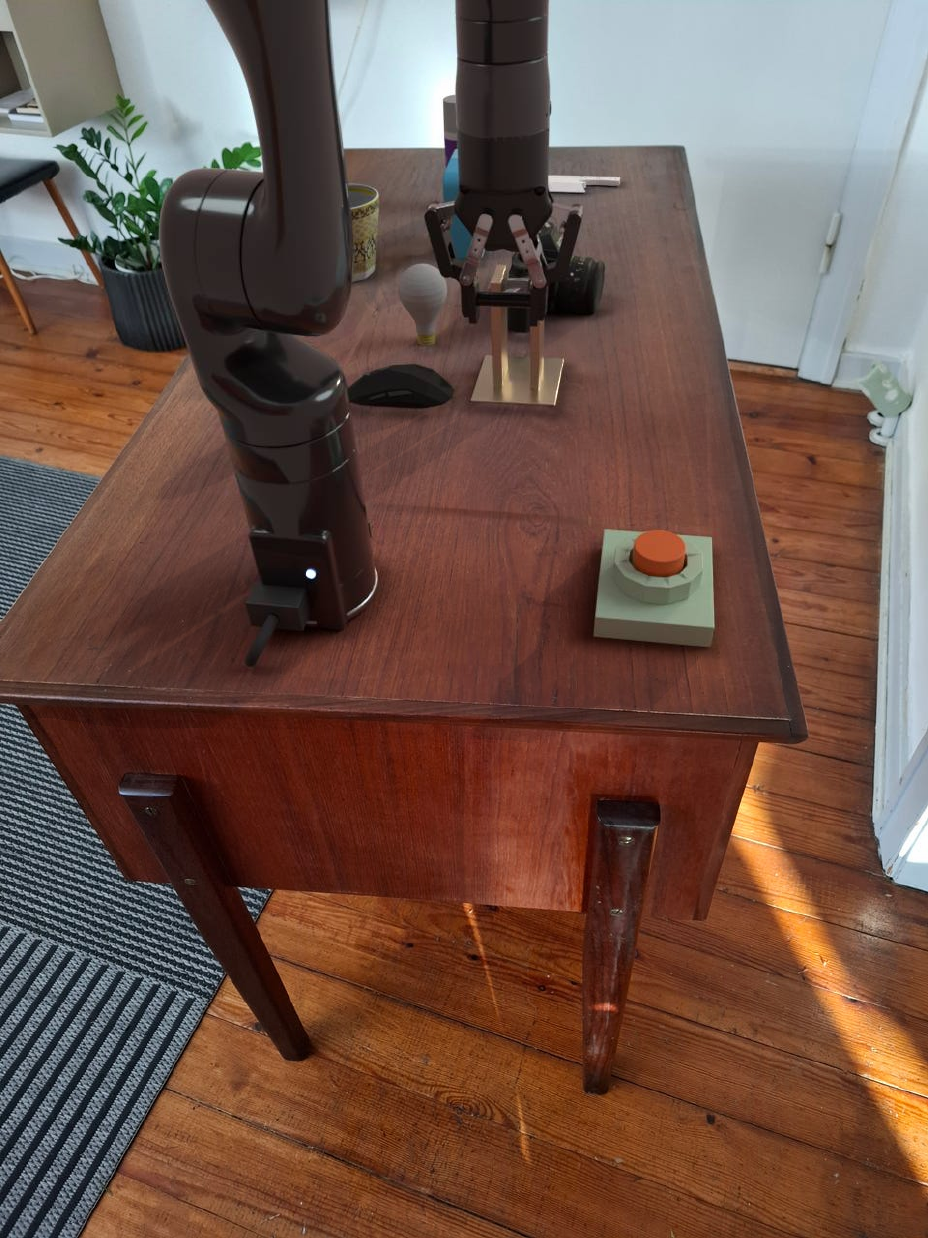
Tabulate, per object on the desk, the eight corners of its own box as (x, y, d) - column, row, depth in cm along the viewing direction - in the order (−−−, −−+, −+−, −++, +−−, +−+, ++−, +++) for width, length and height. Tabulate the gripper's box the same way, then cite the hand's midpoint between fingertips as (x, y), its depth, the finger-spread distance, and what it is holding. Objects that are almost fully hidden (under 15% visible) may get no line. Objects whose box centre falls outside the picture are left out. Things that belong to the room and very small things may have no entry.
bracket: (554, 414, 94) (557, 297, 85) (470, 409, 96) (465, 294, 87) (563, 367, 101) (567, 254, 92) (485, 364, 103) (482, 252, 94)
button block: (710, 647, 69) (718, 610, 66) (593, 636, 70) (596, 599, 68) (708, 556, 77) (715, 519, 74) (602, 548, 78) (605, 511, 75)
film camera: (613, 342, 105) (619, 258, 98) (508, 347, 105) (506, 264, 98) (595, 278, 118) (600, 200, 111) (502, 283, 118) (500, 205, 111)
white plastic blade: (616, 193, 139) (617, 186, 139) (522, 191, 142) (522, 184, 142) (620, 182, 143) (620, 174, 142) (527, 180, 146) (527, 173, 145)
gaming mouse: (327, 384, 101) (322, 351, 98) (457, 386, 99) (455, 353, 97) (314, 414, 96) (308, 380, 94) (450, 417, 95) (448, 383, 92)
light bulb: (444, 361, 104) (439, 276, 97) (399, 358, 105) (390, 274, 98) (454, 339, 107) (449, 256, 100) (410, 336, 108) (403, 254, 101)
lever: (530, 314, 81) (531, 286, 80) (476, 312, 82) (476, 285, 81) (543, 303, 92) (544, 278, 91) (495, 301, 93) (496, 277, 92)
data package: (459, 234, 131) (455, 145, 123) (490, 234, 130) (488, 145, 122) (446, 268, 122) (441, 175, 114) (479, 268, 122) (476, 175, 113)
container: (443, 204, 140) (436, 97, 129) (470, 198, 141) (465, 91, 131) (455, 214, 137) (450, 104, 126) (482, 208, 138) (479, 99, 127)
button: (683, 580, 69) (686, 563, 68) (631, 576, 70) (633, 559, 69) (683, 548, 72) (686, 531, 71) (633, 544, 73) (635, 527, 72)
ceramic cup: (396, 278, 121) (388, 201, 114) (325, 293, 118) (312, 215, 111) (367, 245, 130) (359, 171, 123) (301, 258, 127) (288, 184, 120)
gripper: (405, 132, 70) (421, 336, 82) (588, 133, 68) (578, 343, 79) (425, 106, 75) (437, 301, 87) (596, 107, 73) (585, 307, 85)
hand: (504, 320), depth 83 cm, fingers closed on lever, 5 cm apart
